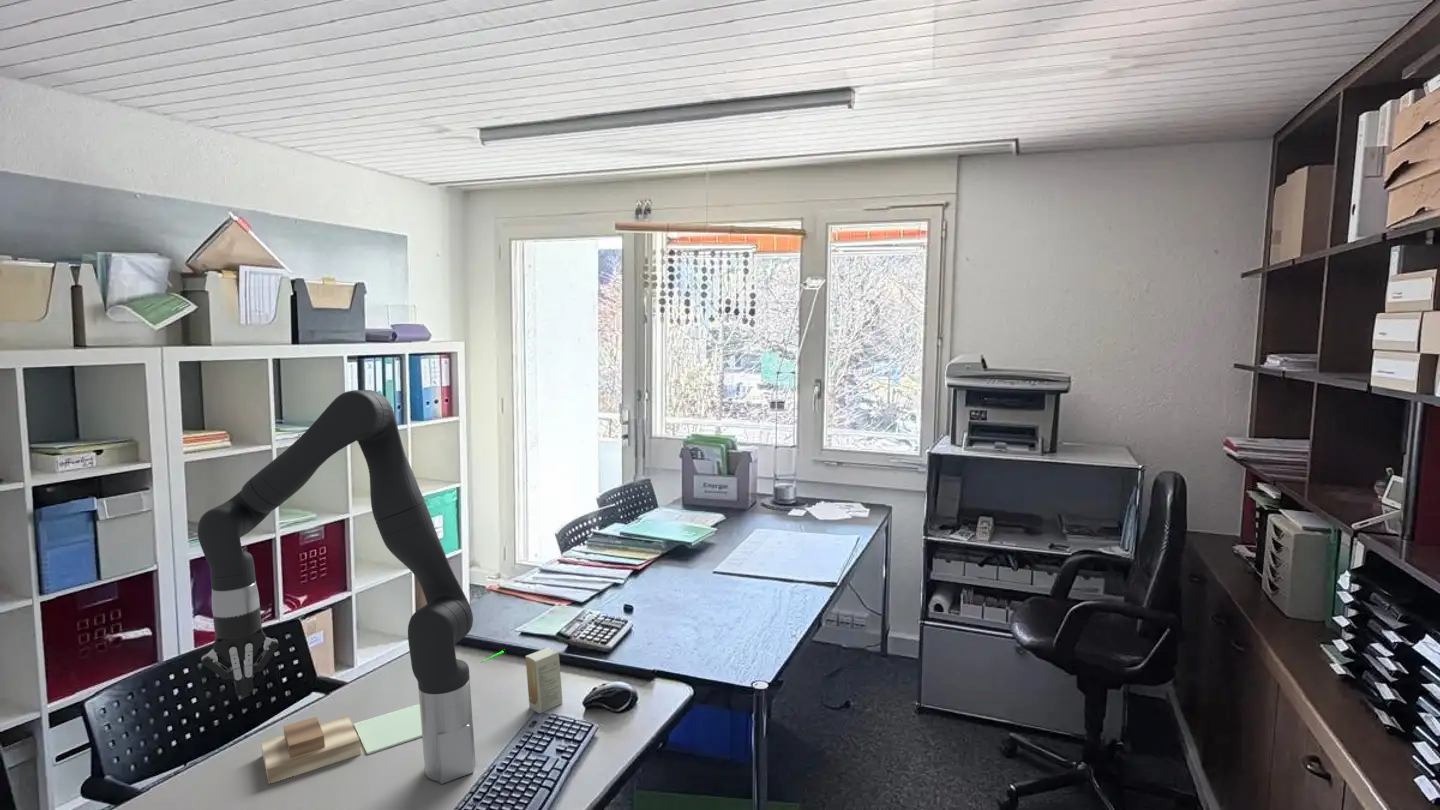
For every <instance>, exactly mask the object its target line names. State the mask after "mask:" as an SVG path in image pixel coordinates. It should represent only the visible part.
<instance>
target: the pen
mask: <svg viewBox="0 0 1440 810" xmlns="http://www.w3.org/2000/svg"><path fill="white" fill-rule="evenodd" d="M503 654H505V653H504V651H503V650H501V651H499V652H497V653H495V654H493V655H491V656H490V657H488V658H486V659H484V660H483V661H481V663H483V662H485V661H488V660H491V659H492V658H496V657H498V656H500V655H503Z"/></svg>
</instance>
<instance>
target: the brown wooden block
mask: <svg viewBox="0 0 1440 810" xmlns="http://www.w3.org/2000/svg"><path fill="white" fill-rule="evenodd" d="M320 724H321V723H320V721H319V719H318V716H314V717H311V718H307V719H304V720H303V719H302V720H300V721H297V722H294V723H290V724H286V725H283V735H284V737H285V741H286V745H287V748H288V752H289V755H290V758H293V757H296V756H299V755H302V754H305V753H309V752H312V751H315V750H318V749H321V748H324V747H325V742H324V734H323V732H322V729H321V727H320Z"/></svg>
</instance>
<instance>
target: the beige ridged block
mask: <svg viewBox="0 0 1440 810" xmlns="http://www.w3.org/2000/svg"><path fill="white" fill-rule="evenodd" d="M319 724H320V727H321V729H322V732H323V734H324V742H325V747H324V748H321V749H318V750H315V751H312V752H309V753H305V754H302V755H299V756H296V757H293V758H290V755H289V752H288V748H287V745H286V741H285V737H284V734H281V735H279V736H278V735H277V736H275V737H272V738H268V739H264V740H262V741H260V747H261V753H262V754H261V756H262V755H263V756H262V759H263V765H264V768H265V769H266V770H265V769H264V770H265V774H266V778H267V784H268V785H270V783H271V784H274V783H277V782H280V780H281V781H283V779H284V780H287V779H289V777H290V778H292V776H293V777H296V776H299V775H301V774H305V773H308V772H310V771H314V770H317V769H319V768H320V769H321V768H323V767H326V766H330V765H331V764H336V763H338V762H341V761H345V760H347V759H351V758H353V757H354V758H355V757H358V756H360V755H361V754H362V753H361V751H362V750H361V740H360V738H359V736H358V734H357V732H356V729H355V727H354V724H353V723H352V720H351V719H350V717H349V715H346V716H342V717H340V718H336V719H332V720H329V721H326V722H322V723H319ZM286 778H287V779H286Z"/></svg>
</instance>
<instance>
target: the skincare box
mask: <svg viewBox="0 0 1440 810" xmlns="http://www.w3.org/2000/svg"><path fill="white" fill-rule="evenodd" d="M559 653H560V652H559V651H558V650H556V649H553V648H552V647H549V646H547V647H544V648H542V649H540V650H537V651H534V652H532V653H529V654H527V655H525V665H526V666H525V667H526V668H525V669H526V680H527V691H528V704H529V708H530V709H531V710H533V711H534V712H536V713H538V714H541V713H544V712H547V711H548V710H552V709H553V708H554V707H557V706H559V705H561V704H563V691H562V690H563V689H562V679H561V665H560V664H561V663H560V654H559Z"/></svg>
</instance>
